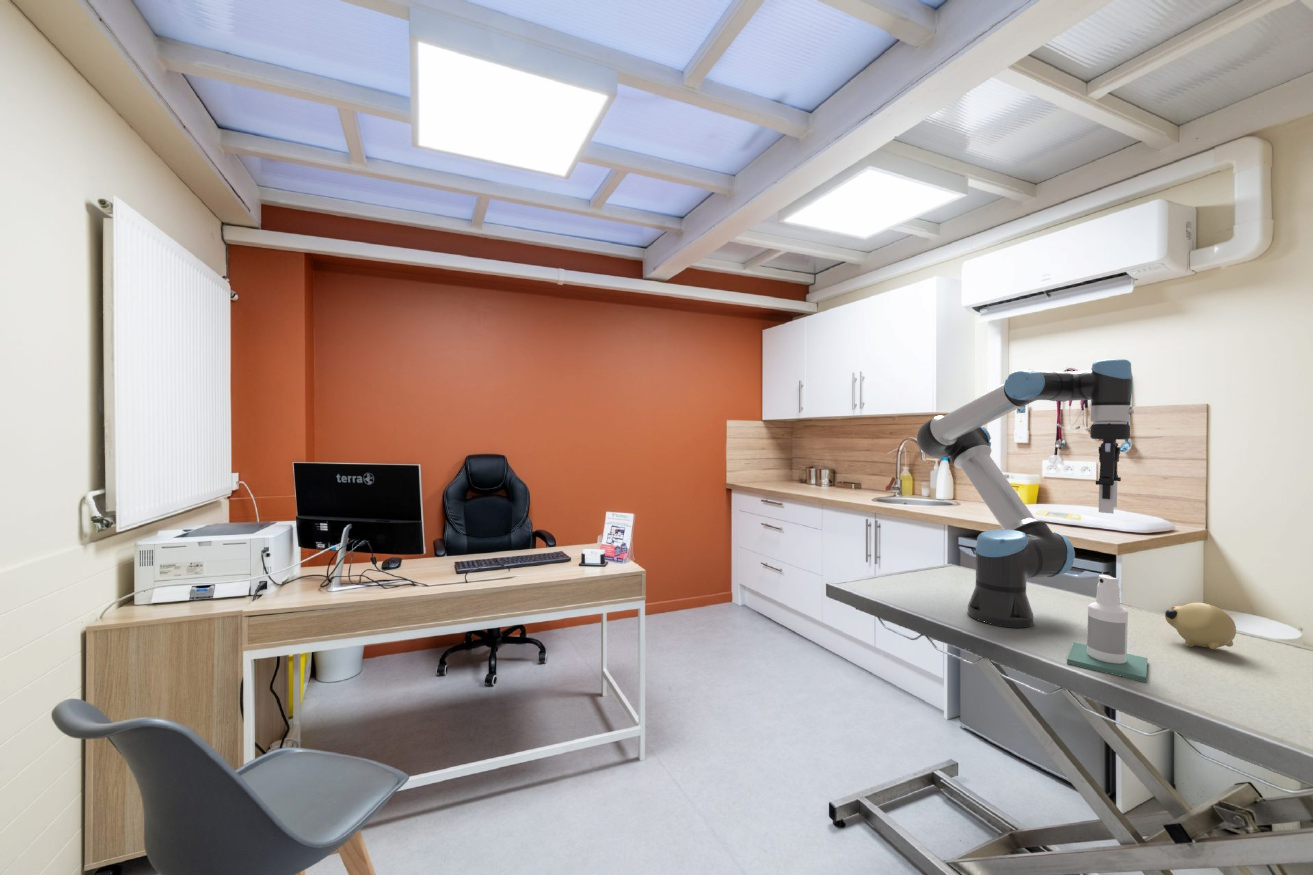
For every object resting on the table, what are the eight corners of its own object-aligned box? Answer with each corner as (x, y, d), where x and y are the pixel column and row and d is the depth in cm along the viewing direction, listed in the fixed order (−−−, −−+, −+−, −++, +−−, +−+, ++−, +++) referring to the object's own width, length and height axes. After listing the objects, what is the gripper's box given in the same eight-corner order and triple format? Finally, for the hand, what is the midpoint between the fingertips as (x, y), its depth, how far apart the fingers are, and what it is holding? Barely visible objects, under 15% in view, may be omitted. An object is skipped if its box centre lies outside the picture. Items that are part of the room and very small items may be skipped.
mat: (1066, 663, 121) (1067, 658, 121) (1073, 646, 130) (1073, 642, 130) (1146, 682, 112) (1146, 677, 112) (1147, 662, 122) (1147, 657, 122)
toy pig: (1184, 635, 138) (1185, 593, 138) (1246, 654, 127) (1247, 608, 126) (1155, 638, 136) (1156, 595, 135) (1215, 658, 124) (1217, 611, 124)
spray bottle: (1079, 651, 125) (1080, 572, 124) (1107, 651, 125) (1109, 572, 125) (1105, 664, 118) (1108, 581, 117) (1135, 664, 118) (1137, 580, 118)
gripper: (1128, 422, 123) (1125, 517, 124) (1132, 423, 141) (1130, 506, 142) (1085, 422, 128) (1083, 513, 129) (1095, 423, 147) (1093, 503, 147)
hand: (1107, 509), depth 135 cm, fingers open, 13 cm apart
